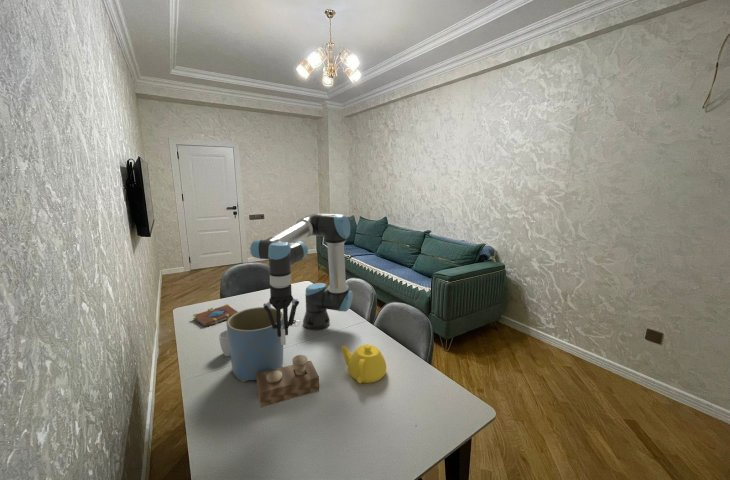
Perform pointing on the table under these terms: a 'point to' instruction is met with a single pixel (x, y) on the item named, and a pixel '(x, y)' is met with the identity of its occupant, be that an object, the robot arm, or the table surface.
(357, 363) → the teapot
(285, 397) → the socket block
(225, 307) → the book
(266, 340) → the planter
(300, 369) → the peg
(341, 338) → the table surface
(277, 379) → the peg
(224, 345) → the cup
